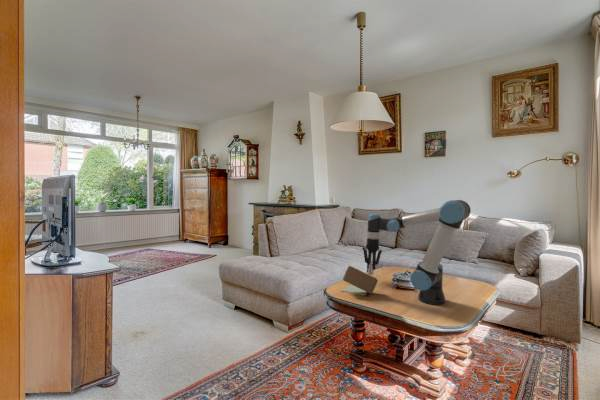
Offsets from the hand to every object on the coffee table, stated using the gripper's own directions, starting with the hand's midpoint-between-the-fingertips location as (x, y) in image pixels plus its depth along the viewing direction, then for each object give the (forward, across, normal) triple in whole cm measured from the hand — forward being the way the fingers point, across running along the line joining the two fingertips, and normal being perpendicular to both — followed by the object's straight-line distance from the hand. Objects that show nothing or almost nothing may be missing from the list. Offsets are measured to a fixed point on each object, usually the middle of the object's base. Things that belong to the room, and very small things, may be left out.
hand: (370, 274), depth 202 cm
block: (+7, -3, 0) cm, 8 cm away
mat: (+13, +10, -1) cm, 16 cm away
